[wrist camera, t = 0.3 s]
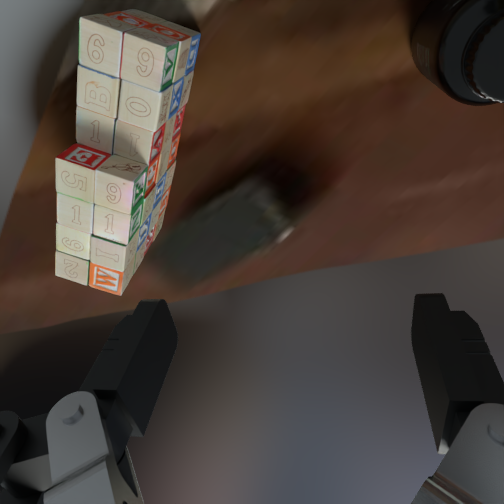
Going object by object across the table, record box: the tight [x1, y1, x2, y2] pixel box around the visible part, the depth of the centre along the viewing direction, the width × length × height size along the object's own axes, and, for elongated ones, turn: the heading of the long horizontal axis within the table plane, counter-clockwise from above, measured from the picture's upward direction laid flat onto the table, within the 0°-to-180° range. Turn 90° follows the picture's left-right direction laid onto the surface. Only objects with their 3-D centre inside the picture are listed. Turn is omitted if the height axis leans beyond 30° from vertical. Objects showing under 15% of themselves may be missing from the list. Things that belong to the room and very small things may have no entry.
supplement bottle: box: [411, 0, 504, 106], centre depth 26 cm, size 7×7×12 cm
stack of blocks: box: [55, 9, 201, 295], centre depth 35 cm, size 21×6×12 cm, turn 163°
